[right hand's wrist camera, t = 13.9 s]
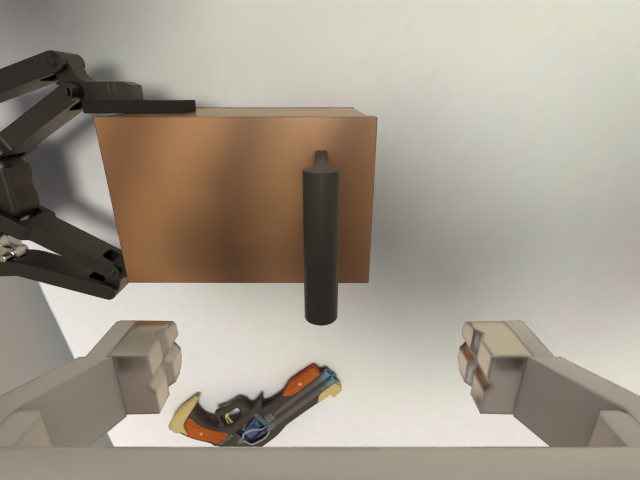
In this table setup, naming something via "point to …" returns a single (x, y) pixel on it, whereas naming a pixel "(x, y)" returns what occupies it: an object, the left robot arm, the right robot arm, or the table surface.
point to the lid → (244, 200)
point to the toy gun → (256, 412)
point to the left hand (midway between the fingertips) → (199, 186)
